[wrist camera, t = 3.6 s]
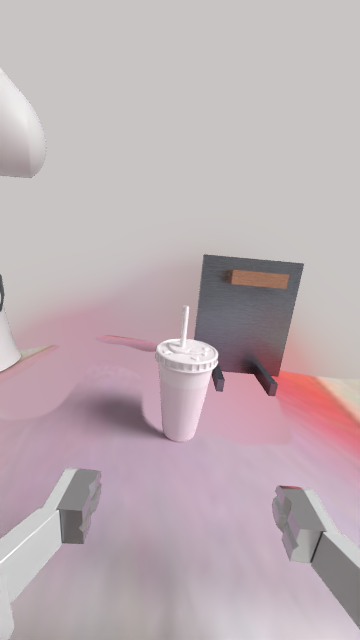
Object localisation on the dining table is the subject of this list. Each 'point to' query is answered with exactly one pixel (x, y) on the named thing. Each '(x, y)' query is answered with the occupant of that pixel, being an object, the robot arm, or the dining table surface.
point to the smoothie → (183, 382)
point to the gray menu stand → (246, 314)
